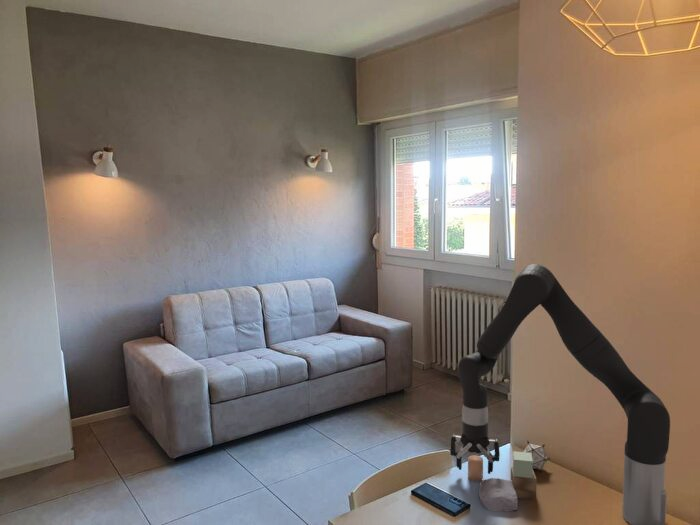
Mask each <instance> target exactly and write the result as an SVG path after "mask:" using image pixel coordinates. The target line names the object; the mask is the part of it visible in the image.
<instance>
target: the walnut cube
mask: <svg viewBox="0 0 700 525" xmlns="http://www.w3.org/2000/svg"><path fill="white" fill-rule="evenodd" d="M510 480H512V482H513V487H514V490H515V491H516V494H517V499H528V500H529V499H531V500H536V499H537V476H536V474H535V472H534V470H533V478H524V477H515V476H514V473H513V466H511V467H510Z"/></svg>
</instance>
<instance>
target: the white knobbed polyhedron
mask: <svg viewBox="0 0 700 525" xmlns="http://www.w3.org/2000/svg"><path fill="white" fill-rule="evenodd" d="M545 446H546V444H545V443H544V444H543V445H541V444H540V445H539V444H534V443H530V441H528V440H527V444H526V446H525V448H524V449H523V450H522V452H527V453H532V460H533V470H534V469H535V470H538V471H540V473H543V470H542V469H544V466H545V465H546V464H547V461H548V460H549V461H550V460H551V458H550V457H548V455H547V451H546V450H545Z"/></svg>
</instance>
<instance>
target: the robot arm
mask: <svg viewBox="0 0 700 525" xmlns="http://www.w3.org/2000/svg"><path fill="white" fill-rule="evenodd" d="M539 306H541V307H542V308H543V309H544V311H546V312H547V314H548V316H549V317H550V318H551V320H552V321H553V324H554V326H555V328H556V331H557V333H558V335H559V337H560V339H561V340H562V343H563V344H564V346H565V347H566V349H567V350H568V352H569V353H570V354H571V355H572V357H573V358H574V359H575V360H576V361H577V362H578V363H579V365H580V366H581V367H582V368H584V369H585V370H586V371H587V372H588V373H590V374H591V375H592V376H593V377H594V378H596V379H597V380H598V381H600V382H601V383H602V384H603V385H605V387H606V388H607V389H608V390H609V391H610V393H611V394H612V395H613V396H614V398H615V399H616V400H617V403H619V405H620V406H621V407H622V409H623V410H624V413H625V415H626V419H627V430H626V431H627V435H626V441H625V443H624V456H623V480H622V481H623V483H622V484H623V486H622V488H623V489H622V506H621V507H622V508H621V509H622V510H621V511H622V512H621V514H622V517H623V519H624V520H625V521H626V522H627V523H628V524H630V525H666V519H667V517H666V516H667V496H668V495H667V491H666V489H665V486H666V485H665V482H666V481H665V480H666V461H667V454H668V452H669V447H670V445H669V444H670V432H671V417H670V413H669V411H668V409H667V407H666V405H665V404H664V402H663V401H662V399H661V398H660V397H659V396H658V395H657V394H655V392H654V391H652V389H650V388H649V387H648V386H647V385H646V384H645V383H644V382H642V380H641V379H640V378H638V377H637V376H636V374H634V373H633V372H632V371H631V369H630V368H629V367H628V365H627V364H626V362H625V361H624V359H623V358H622V357H621V355H620V354H619V352H618V351H617V350H616V348H615V347H614V346H613V344H612V343H611V342H610V341H609V340H608V339H607V337H606V336H605V335H604V334H603V333H602V332H601V330H600V329H599V328H598V327H597V326H596V325H595V324H594V323H593V321H591V320H590V319H589V318H588V317H587V315H586V314H585V313H584V312H583V311H582V309H580V308H579V307H578V306H577V305H576V303H575V302H574V301H573V300H572V298H571V297H570V296H569V295H568V293H567V292H566V291H565V289H564V288H563V286H562V285H561V284H560V282H559V281H558V279H557V278H556V276H555V275H554V274H553V273H552V271H551V270H550V269H548V268H547V267H546V266H544V265H542V264H537V263H532V264H529V265H526V266H525V267H524V268H523V269H522V270H521V271H520V272H519V274H518V275H517V276H516V277H515V279H514V282H513V284H512V287H511V289H510V292H509V295H508V296H507V298H506V300H505V302H504V304H503V306H502V307H501V309H500V311H499V312H498V313H497V314H496V315H495V316H494V318H493V319H492V320H491V321H490V323H489V324H488V325H487V327H486V328H485V330H484V331H483V332H482V334H481V335H480V337H479V338H478V340H477V342H476V348H477V350H476V351H475V352H473V353H471V354H468V355H464V356H463V357H461V359H460V360H459V362H458V365H457V366H458V367H457V371H458V376H459V381H460V385H461V388H462V409H461V416H462V417H461V435H457V434H456V433H452V435H451V439H450V456H452V457H453V456H454V457H455V458H456V467H457V468H458V470H459V471H460V470H462V469H463V468H462V467H463V459H462V458H463V455H465V454H466V453H467V452H469V453H475V454H482V455H483V457H485V458H486V459H487V474H489V475H490V474H491V473H492V472H494V462H500V439H498V438H495V439H490V438H489V410H488V409H489V408H488V389H487V387H486V385H485V384H482V383H480V378H482V377H484V376H486V375H488V374H489V373H490V372H491V371H492V370H493V369H494V367H495V365H496V363H497V361H498V358H499V356H500V355H501V353H502V352H503V351H504V349H505V348H506V346H507V345H508V343H509V342H510V341H511V339H512V337H513V336H514V335H515V333H516V331H517V329H518V328H519V326H520V325H521V324H522V322H523V321H524V320H525V319H526V318H527V317H528V316H529V314H531V313H532V312H533V311H534V310H535V309H536V308H537V307H539ZM459 441H460V443H462V445H461V447H460V448H459V450H457V449H456V448H457V447H456V445H457V444H458V443H459ZM490 445H491V447H492V448H494V454H492V453H491V451H490V449H489V448H488V446H490Z"/></svg>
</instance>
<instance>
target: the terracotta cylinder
mask: <svg viewBox="0 0 700 525" xmlns="http://www.w3.org/2000/svg"><path fill="white" fill-rule="evenodd" d="M467 478H468V480H469V481H471V480H472V482H475V481H478V482H481V480H482V479H483V480H484V459H483V457H481V456H480V455H474V454H473V455H469V456H468V457H467ZM483 480H482V481H483Z"/></svg>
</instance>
